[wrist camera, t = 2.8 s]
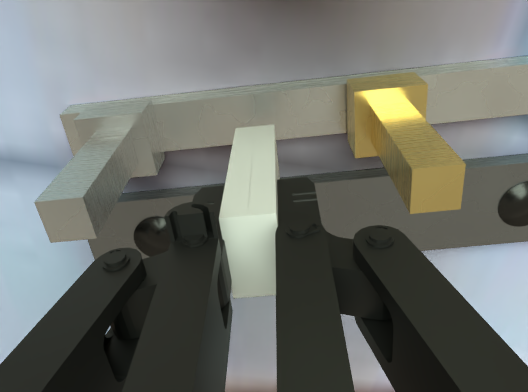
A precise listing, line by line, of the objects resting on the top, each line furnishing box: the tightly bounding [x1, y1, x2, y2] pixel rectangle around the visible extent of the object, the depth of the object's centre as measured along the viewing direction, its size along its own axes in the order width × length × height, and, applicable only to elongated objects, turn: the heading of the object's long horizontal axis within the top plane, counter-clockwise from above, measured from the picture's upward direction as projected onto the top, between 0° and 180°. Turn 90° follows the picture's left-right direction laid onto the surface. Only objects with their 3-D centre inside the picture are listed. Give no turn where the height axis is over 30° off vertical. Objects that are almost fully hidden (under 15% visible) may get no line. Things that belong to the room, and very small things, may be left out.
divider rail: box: [34, 56, 528, 243], centre depth 19 cm, size 28×3×9 cm, turn 96°
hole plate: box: [88, 154, 528, 260], centre depth 25 cm, size 30×5×1 cm, turn 96°
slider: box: [347, 72, 466, 214], centre depth 18 cm, size 3×3×8 cm
